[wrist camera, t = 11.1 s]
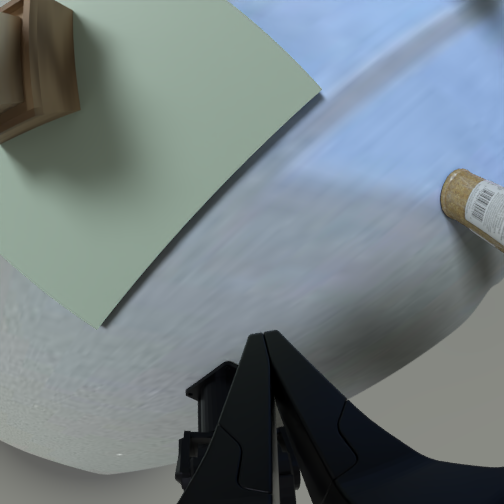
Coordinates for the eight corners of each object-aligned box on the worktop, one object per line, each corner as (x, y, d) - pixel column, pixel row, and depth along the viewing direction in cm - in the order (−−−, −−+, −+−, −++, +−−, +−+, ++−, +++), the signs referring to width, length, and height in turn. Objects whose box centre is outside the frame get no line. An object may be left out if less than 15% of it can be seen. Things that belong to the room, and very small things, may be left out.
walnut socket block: (80, 110, 14) (35, 115, 9) (0, 144, 14) (-49, 163, 9) (72, 10, 11) (30, -12, 6) (-9, 54, 10) (-57, 53, 6)
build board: (99, 323, 22) (96, 329, 21) (-65, 174, 13) (-70, 177, 13) (317, 89, 16) (322, 89, 15) (89, -74, 7) (86, -78, 6)
